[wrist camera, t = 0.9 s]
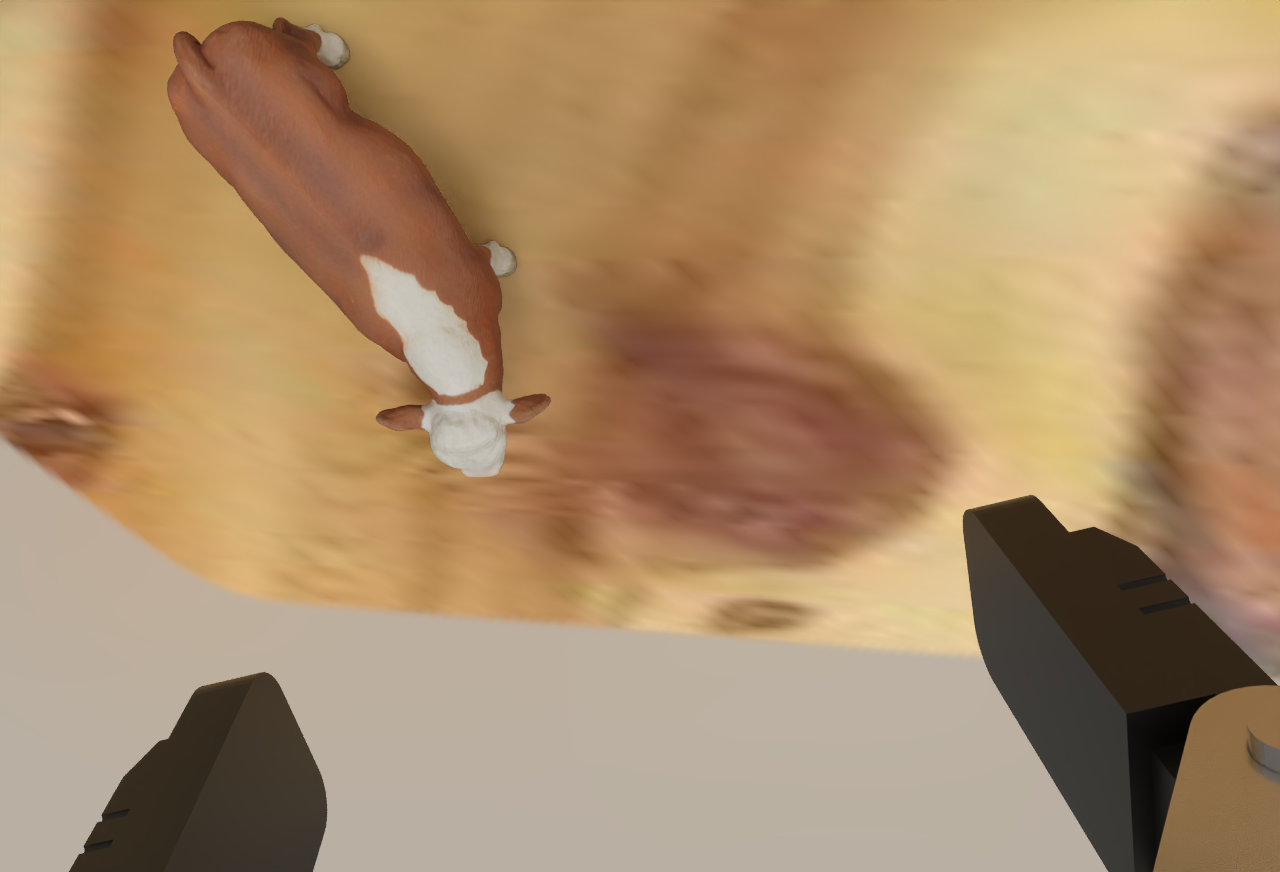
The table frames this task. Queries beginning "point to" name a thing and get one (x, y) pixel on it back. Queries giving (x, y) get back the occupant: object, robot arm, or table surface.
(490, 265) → the bull figurine
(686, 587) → the table surface
